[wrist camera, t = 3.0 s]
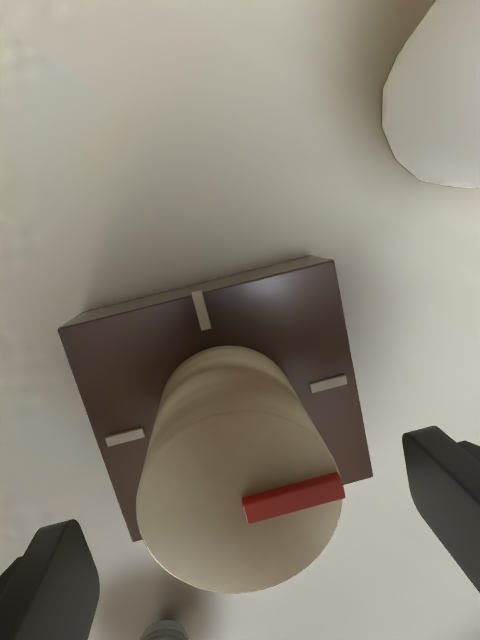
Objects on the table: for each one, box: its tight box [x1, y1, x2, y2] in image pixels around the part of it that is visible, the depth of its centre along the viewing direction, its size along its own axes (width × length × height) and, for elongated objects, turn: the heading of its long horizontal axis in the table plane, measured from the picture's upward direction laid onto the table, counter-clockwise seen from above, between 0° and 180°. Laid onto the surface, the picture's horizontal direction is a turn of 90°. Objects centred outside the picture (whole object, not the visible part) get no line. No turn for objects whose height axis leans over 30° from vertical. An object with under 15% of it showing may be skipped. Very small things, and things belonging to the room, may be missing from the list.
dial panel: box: [58, 256, 373, 542], centre depth 16 cm, size 10×9×3 cm
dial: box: [136, 346, 345, 593], centre depth 12 cm, size 5×5×6 cm
